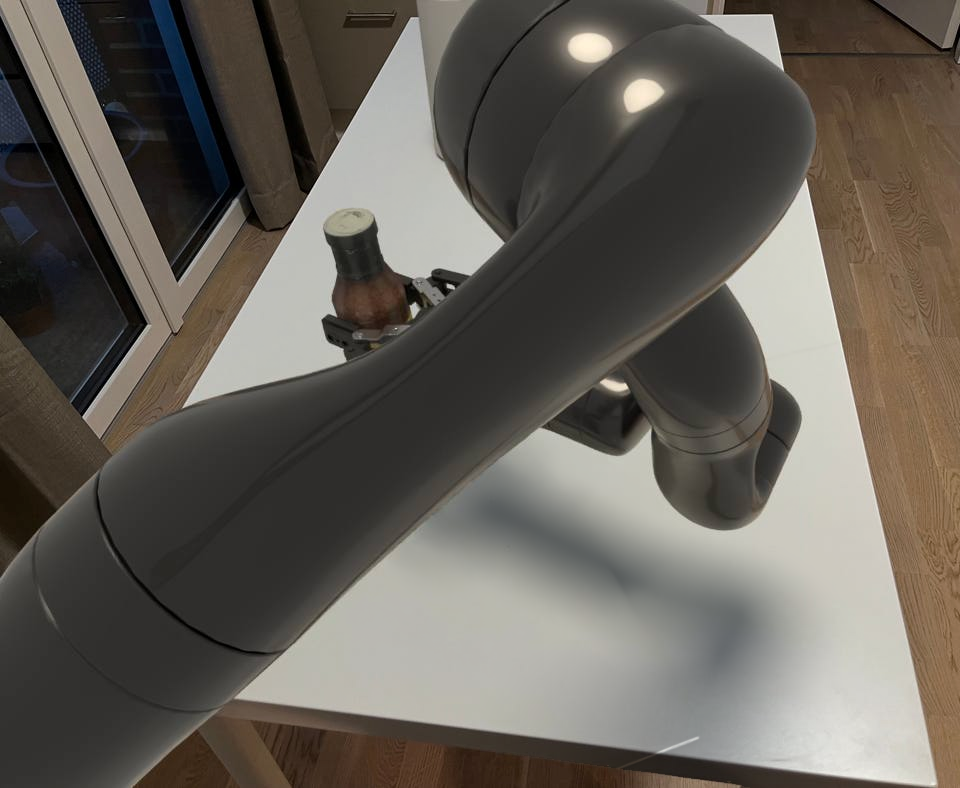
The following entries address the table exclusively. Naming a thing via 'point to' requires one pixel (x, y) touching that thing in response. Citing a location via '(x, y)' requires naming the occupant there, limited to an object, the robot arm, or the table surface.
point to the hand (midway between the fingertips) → (353, 302)
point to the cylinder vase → (437, 39)
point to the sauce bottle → (363, 273)
